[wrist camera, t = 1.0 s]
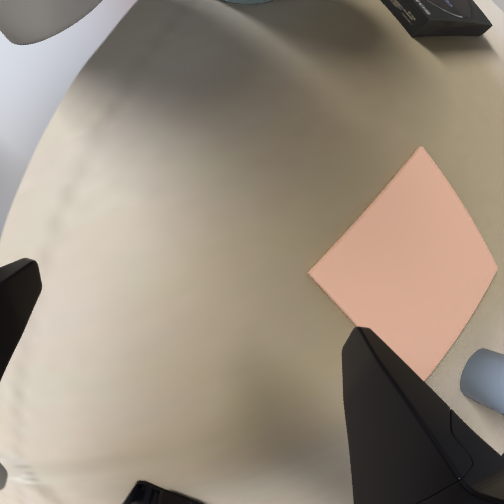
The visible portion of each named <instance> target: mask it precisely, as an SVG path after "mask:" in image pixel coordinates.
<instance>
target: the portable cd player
mask: <svg viewBox="0 0 504 504" xmlns="http://www.w3.org/2000/svg"><path fill="white" fill-rule="evenodd" d="M381 1H382V3H383V4H384V5H385V6H386V7H387V8H388V9H389V10H390V11H391V13H392V14H393V15H394V16H395V17H396V18H397V20H398V21H399V22H400V23H401V24H402V26H403V27H404V28H405V29H406V31H407V32H408V33H409V34H410V36H411V37H423V36H480V35H482V34H484V33H485V32H486V31H487V30H488V29H489V28H490V27H491V26H493V25H492V24H491V23H490V21H489V20H488V19H487V17H486V16H485V15H484V13H483V12H482V11H481V10H480V8H479V7H478V6H477V5H476V4H475V2H474V1H473V0H381Z"/></svg>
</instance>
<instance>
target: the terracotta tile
mask: <svg viewBox="0 0 504 504" xmlns="http://www.w3.org/2000/svg"><path fill="white" fill-rule="evenodd" d="M497 270H498V268H497V266H496V264H495V262H494V259H493V257H492V255H491V253H490V252H489V250H488V248H487V246H486V244H485V242H484V240H483V238H482V236H481V235H480V233H479V231H478V229H477V227H476V226H475V224H474V222H473V221H472V219H471V217H470V215H469V214H468V212H467V210H466V209H465V207H464V206H463V204H462V202H461V201H460V199H459V198H458V196H457V195H456V193H455V192H454V190H453V189H452V187H451V186H450V184H449V183H448V181H447V180H446V178H445V177H444V175H443V174H442V172H441V171H440V170H439V168H438V167H437V166H436V164H435V163H434V161H433V160H432V159H431V157H430V156H429V155H428V153H427V152H426V151H425V150H424V148H423V147H422V146H421V147H419V148H418V149H417V150H416V151H415V152H414V154H413V155H412V156H411V157H410V158H409V160H408V161H407V162H406V163H405V164H404V166H403V167H402V168H401V169H400V170H399V172H398V173H397V174H396V175H395V176H394V178H393V179H392V180H391V181H390V182H389V183H388V185H387V186H386V187H385V188H384V189H383V190H382V191H381V193H380V194H379V195H378V196H377V197H376V198H375V200H374V201H373V202H372V203H371V204H370V205H369V206H368V207H367V209H366V210H365V211H364V212H363V213H362V214H361V215H360V216H359V218H358V219H357V220H356V221H355V222H354V223H353V224H352V225H351V226H350V228H349V229H348V230H347V231H346V232H345V233H344V234H343V235H342V236H341V237H340V238H339V240H338V241H337V242H336V243H335V244H334V245H333V246H332V247H331V248H330V249H329V250H328V251H327V252H326V254H325V255H324V256H323V257H322V258H321V259H320V260H319V261H318V262H317V263H316V264H315V265H314V266H313V267H312V268H311V269H310V270H309V272H308V273H307V274H308V275H309V276H310V277H311V278H312V279H313V281H314V282H315V283H316V284H317V285H318V286H319V287H320V288H321V289H322V290H323V291H324V292H325V293H326V294H327V296H328V297H329V298H330V299H331V300H332V301H333V302H334V303H335V304H336V305H337V306H338V307H339V308H340V310H341V311H342V312H343V313H344V314H345V315H346V316H347V317H348V318H349V319H350V320H351V322H352V323H353V324H354V325H355V326H356V327H357V326H360V327H368V328H370V329H371V330H372V331H373V332H374V333H376V334H377V335H378V336H379V337H380V338H381V339H382V340H383V341H384V342H385V343H386V344H387V345H388V346H389V347H390V348H391V349H392V350H393V351H394V352H395V353H396V354H397V355H398V356H399V357H400V358H401V359H402V360H403V361H404V362H405V363H406V364H407V365H408V366H409V367H410V368H411V369H412V370H413V371H414V372H415V373H416V374H417V375H418V376H419V377H420V378H421V379H422V380H423V381H425V380H426V379H427V377H428V376H429V375H430V374H431V372H432V371H433V370H434V369H435V367H436V366H437V365H438V363H439V362H440V361H441V359H442V358H443V357H444V355H445V354H446V353H447V351H448V350H449V348H450V347H451V346H452V344H453V343H454V341H455V340H456V338H457V337H458V336H459V334H460V333H461V331H462V330H463V328H464V327H465V325H466V323H467V322H468V320H469V319H470V317H471V316H472V314H473V312H474V311H475V309H476V307H477V306H478V304H479V302H480V301H481V299H482V297H483V295H484V294H485V292H486V290H487V288H488V287H489V285H490V283H491V281H492V279H493V277H494V275H495V273H496V271H497Z"/></svg>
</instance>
